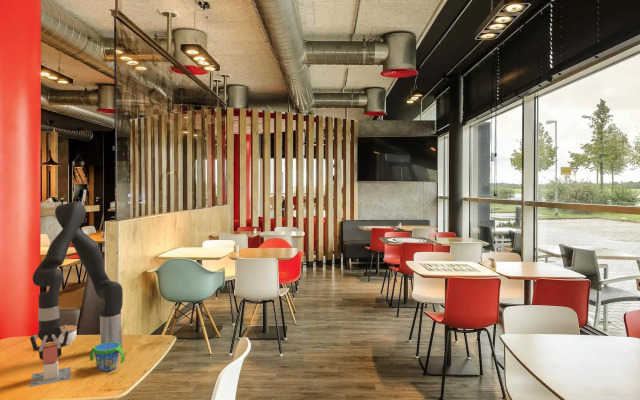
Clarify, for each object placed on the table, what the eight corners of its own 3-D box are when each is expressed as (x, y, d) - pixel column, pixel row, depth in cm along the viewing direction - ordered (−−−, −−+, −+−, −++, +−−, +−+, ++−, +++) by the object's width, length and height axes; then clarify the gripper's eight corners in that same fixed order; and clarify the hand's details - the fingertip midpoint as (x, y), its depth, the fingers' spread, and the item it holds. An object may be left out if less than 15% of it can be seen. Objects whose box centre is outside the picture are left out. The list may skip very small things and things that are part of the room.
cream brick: (58, 372, 188) (57, 358, 188) (57, 377, 184) (57, 362, 183) (44, 375, 186) (43, 361, 185) (43, 380, 181) (43, 365, 181)
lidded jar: (59, 349, 219) (59, 330, 218) (48, 344, 225) (47, 326, 224) (81, 342, 228) (80, 324, 227) (70, 338, 234) (69, 320, 233)
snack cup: (131, 366, 196) (130, 343, 196) (113, 376, 186) (112, 352, 186) (102, 362, 201) (101, 340, 201) (83, 372, 191) (82, 348, 191)
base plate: (70, 369, 194) (70, 366, 194) (70, 381, 182) (70, 378, 182) (32, 376, 188) (32, 373, 188) (29, 389, 175) (29, 386, 175)
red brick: (58, 357, 188) (57, 343, 188) (57, 361, 184) (57, 346, 183) (44, 359, 186) (43, 345, 185) (43, 363, 181) (42, 349, 181)
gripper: (69, 312, 191) (70, 352, 191) (29, 317, 184) (30, 358, 184) (69, 317, 184) (70, 357, 185) (27, 322, 177) (29, 364, 178)
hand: (50, 358), depth 184 cm, fingers closed on red brick, 5 cm apart
